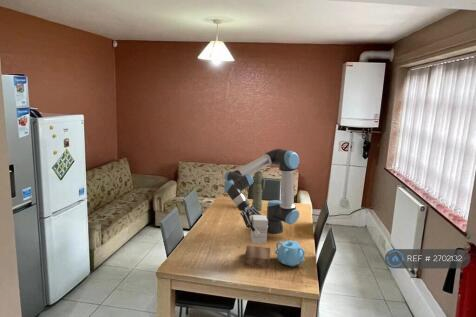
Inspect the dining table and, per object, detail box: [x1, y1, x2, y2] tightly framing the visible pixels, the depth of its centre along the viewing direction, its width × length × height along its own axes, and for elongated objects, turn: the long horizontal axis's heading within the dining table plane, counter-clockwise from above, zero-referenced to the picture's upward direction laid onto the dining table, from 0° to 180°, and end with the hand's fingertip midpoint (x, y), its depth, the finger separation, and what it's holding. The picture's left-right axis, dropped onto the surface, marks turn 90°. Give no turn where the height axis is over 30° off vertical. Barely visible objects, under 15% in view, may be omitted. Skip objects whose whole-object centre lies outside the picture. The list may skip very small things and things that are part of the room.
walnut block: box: [243, 245, 271, 269], centre depth 199 cm, size 15×15×6 cm
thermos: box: [251, 171, 266, 212], centre depth 290 cm, size 9×12×35 cm
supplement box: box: [250, 214, 268, 244], centre depth 196 cm, size 9×9×15 cm
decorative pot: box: [275, 240, 306, 267], centre depth 199 cm, size 16×16×14 cm
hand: (262, 231), depth 195 cm, fingers closed on supplement box, 12 cm apart
